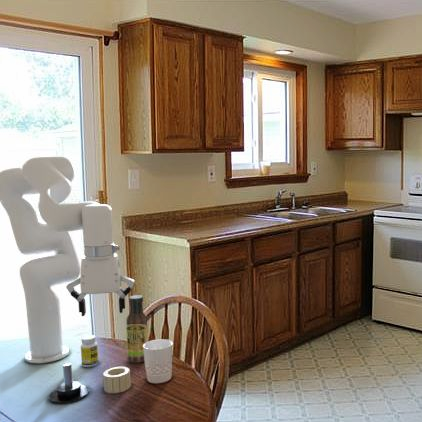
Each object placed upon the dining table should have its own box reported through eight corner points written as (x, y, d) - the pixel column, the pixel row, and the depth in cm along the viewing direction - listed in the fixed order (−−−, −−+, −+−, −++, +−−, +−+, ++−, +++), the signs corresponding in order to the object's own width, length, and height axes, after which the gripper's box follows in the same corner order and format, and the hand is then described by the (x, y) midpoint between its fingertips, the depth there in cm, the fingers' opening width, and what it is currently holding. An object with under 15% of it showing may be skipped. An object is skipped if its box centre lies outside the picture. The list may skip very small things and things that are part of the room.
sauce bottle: (125, 364, 160) (121, 300, 157) (129, 356, 166) (126, 294, 163) (147, 363, 160) (143, 299, 158) (150, 355, 166) (147, 293, 164)
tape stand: (52, 389, 144) (50, 359, 143) (91, 384, 147) (89, 355, 146) (45, 406, 135) (42, 374, 134) (87, 400, 137) (84, 369, 136)
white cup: (139, 379, 149) (137, 344, 148) (163, 370, 155) (161, 337, 154) (155, 387, 144) (153, 351, 143) (179, 377, 150) (177, 343, 148)
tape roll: (105, 383, 147) (104, 368, 146) (131, 380, 148) (130, 365, 148) (103, 394, 140) (102, 378, 140) (130, 391, 142) (129, 375, 141)
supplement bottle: (93, 367, 158) (91, 340, 157) (78, 367, 159) (76, 339, 158) (101, 361, 162) (99, 334, 161) (87, 360, 163) (85, 334, 162)
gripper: (133, 246, 147) (136, 306, 150) (66, 250, 143) (70, 311, 146) (132, 251, 140) (135, 314, 143) (62, 255, 136) (66, 320, 138)
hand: (102, 313), depth 144 cm, fingers open, 9 cm apart
